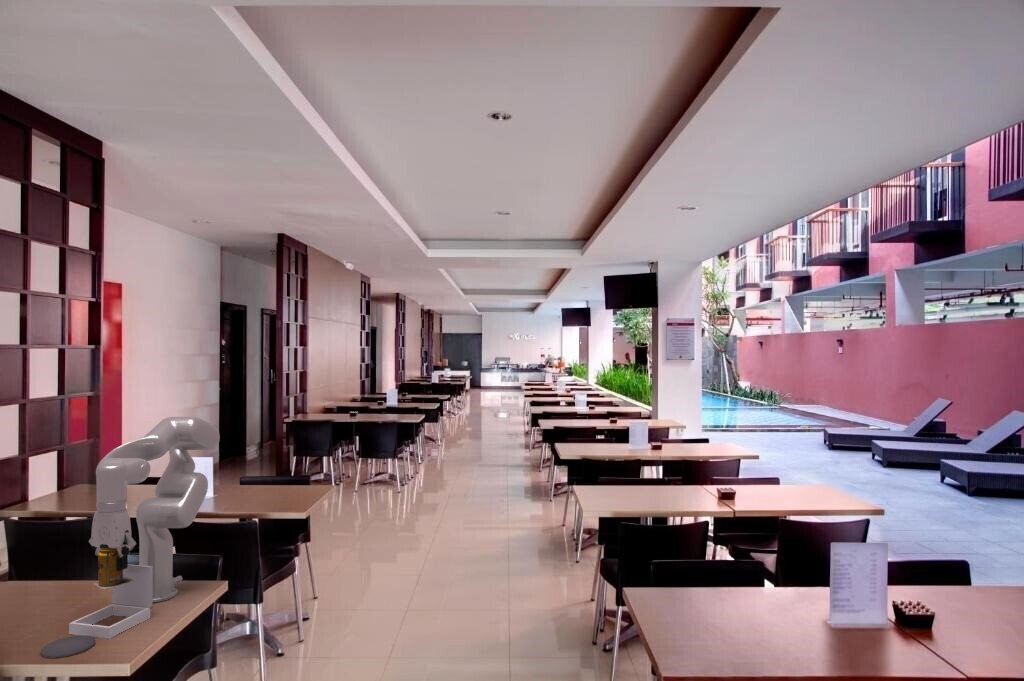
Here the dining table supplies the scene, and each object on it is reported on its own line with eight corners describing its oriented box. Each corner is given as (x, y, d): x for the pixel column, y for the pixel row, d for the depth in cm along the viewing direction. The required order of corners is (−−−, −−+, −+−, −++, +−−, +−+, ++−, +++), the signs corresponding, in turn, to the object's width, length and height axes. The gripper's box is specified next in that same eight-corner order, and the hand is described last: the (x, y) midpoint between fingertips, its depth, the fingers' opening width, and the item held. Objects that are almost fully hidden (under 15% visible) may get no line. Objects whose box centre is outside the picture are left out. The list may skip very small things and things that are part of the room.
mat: (70, 636, 183) (70, 633, 183) (106, 640, 180) (106, 637, 180) (29, 655, 172) (29, 652, 172) (66, 660, 169) (66, 657, 169)
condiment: (93, 584, 190) (92, 542, 190) (124, 575, 197) (124, 535, 197) (103, 590, 186) (102, 547, 186) (135, 581, 192) (135, 540, 192)
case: (114, 613, 200) (115, 563, 200) (152, 617, 197) (152, 566, 197) (69, 634, 185) (69, 580, 185) (109, 638, 182) (109, 583, 182)
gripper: (76, 508, 190) (76, 570, 190) (126, 511, 186) (126, 575, 186) (98, 501, 197) (99, 562, 197) (147, 504, 193) (147, 566, 193)
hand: (112, 568), depth 191 cm, fingers closed on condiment, 6 cm apart
